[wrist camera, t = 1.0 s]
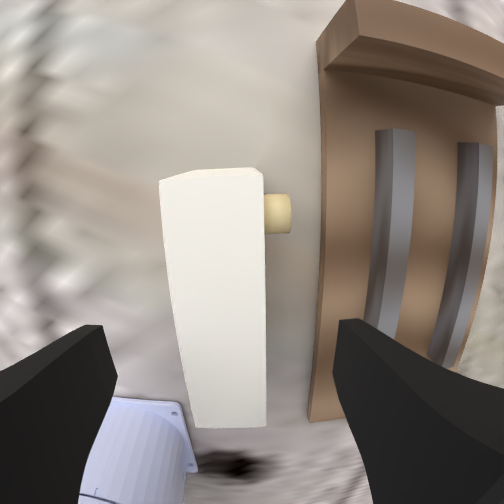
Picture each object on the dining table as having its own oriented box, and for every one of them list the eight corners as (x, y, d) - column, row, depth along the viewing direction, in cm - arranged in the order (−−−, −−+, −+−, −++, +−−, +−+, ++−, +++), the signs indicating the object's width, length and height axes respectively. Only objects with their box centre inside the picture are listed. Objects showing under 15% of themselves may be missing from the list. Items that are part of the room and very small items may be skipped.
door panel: (274, 338, 18) (289, 425, 12) (208, 341, 18) (195, 427, 12) (273, 167, 15) (298, 174, 9) (193, 170, 15) (158, 180, 9)
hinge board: (441, 386, 21) (474, 432, 15) (307, 413, 20) (322, 477, 15) (482, 79, 13) (545, 69, 8) (316, 41, 13) (352, -9, 7)
